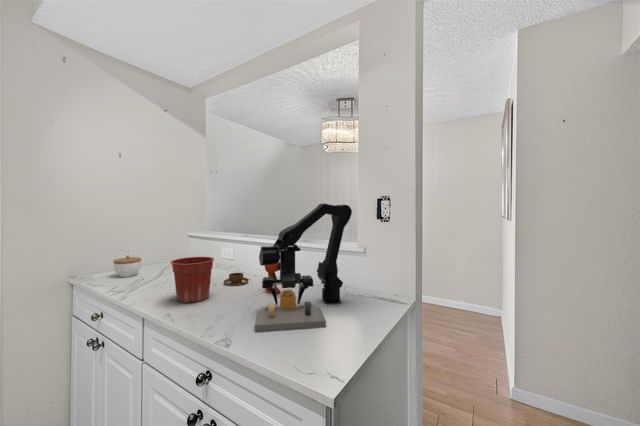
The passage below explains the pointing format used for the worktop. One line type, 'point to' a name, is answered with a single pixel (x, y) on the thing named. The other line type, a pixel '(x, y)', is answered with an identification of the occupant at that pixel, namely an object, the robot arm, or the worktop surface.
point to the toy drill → (272, 274)
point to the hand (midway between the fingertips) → (287, 304)
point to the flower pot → (192, 278)
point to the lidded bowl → (127, 266)
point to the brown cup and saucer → (235, 279)
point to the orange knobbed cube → (287, 300)
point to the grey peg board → (289, 318)
